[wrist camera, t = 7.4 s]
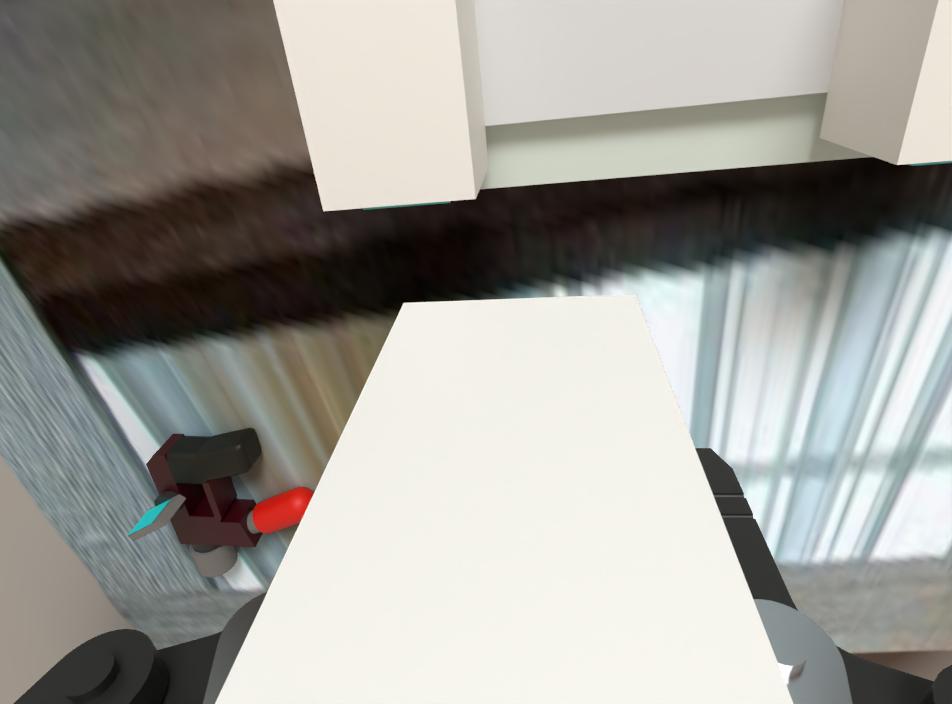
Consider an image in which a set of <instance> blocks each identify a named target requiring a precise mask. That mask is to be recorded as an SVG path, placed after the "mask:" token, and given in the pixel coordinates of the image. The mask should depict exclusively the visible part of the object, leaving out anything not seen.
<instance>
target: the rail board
mask: <svg viewBox="0 0 952 704" xmlns="http://www.w3.org/2000/svg"><path fill="white" fill-rule="evenodd" d="M273 1H274V5H275V10H276V14H277V18H278V22H279V26H280V31H281V35H282V39H283V43H284V48H285V52H286V56H287V60H288V64H289V69H290V73H291V77H292V81H293V86H294V90H295V94H296V98H297V102H298V107H299V111H300V115H301V119H302V123H303V128H304V132H305V136H306V140H307V145H308V149H309V153H310V157H311V161H312V166H313V170H314V174H315V178H316V182H317V187H318V191H319V195H320V199H321V204H322V208H323V211H333V210H346V209H358V208H363V210H368V209H381V208H393V207H406V206H418V205H431V204H443V203H450V202H451V201H457V200H470V199H476V197H477V195H478V192H479V190H480V189H490V188H502V187H514V186H526V185H538V184H550V183H563V182H575V181H587V180H599V179H611V178H623V177H635V176H647V175H659V174H671V173H683V172H695V171H707V170H719V169H731V168H744V167H756V166H768V165H780V164H792V163H804V162H816V161H828V160H840V159H852V158H864V157H875V158H878V159H881V160H884V161H887V162H890V163H892V164H895V165H905V164H908V165H911V166H918V165H931V164H943V163H952V0H273Z"/></svg>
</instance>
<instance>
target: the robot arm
mask: <svg viewBox="0 0 952 704" xmlns="http://www.w3.org/2000/svg"><path fill="white" fill-rule="evenodd" d="M695 449H696V452H697V454H698V457H699V460H700V462H701V465H702V467H703V470H704V473H705V475H706V478H707V480H708V483H709V486H710V488H711V491H712V493H713V496H714V499H715V501H716V504H717V506H718V509H719V512H720V514H721V517H722V519H723V522H724V524H725V527H726V530H727V532H728V535H729V537H730V540H731V543H732V545H733V548H734V550H735V553H736V556H737V558H738V561H739V563H740V566H741V569H742V571H743V574H744V576H745V579H746V582H747V584H748V587H749V589H750V592H751V595H752V597H753V600H754V602H755V605H756V608H757V610H758V613H759V615H760V618H761V621H762V623H763V626H764V628H765V631H766V634H767V636H768V639H769V641H770V644H771V647H772V649H773V652H774V654H775V657H776V659H777V662H778V665H779V667H780V670H781V672H782V675H783V678H784V680H785V683H786V685H787V688H788V691H789V693H790V696H791V698H792V701H793V704H952V665H951V666H949V667H947V668H945V669H943V670H942V671H941V672H940V673H939V674H938V676H937V678H936V679H935V681H930V680H927V679H924V678H921V677H918V676H914V675H911V674H908V673H905V672H901V671H898V670H895V669H892V668H889V667H886V666H883V665H879V664H876V663H873V662H870V661H867V660H864V659H862V658H859V657H857V656H855V655H852V654H850V653H848V652H846V651H844V650H843V649H841V648H839V647H838V646H836V645H835V644H834V642H833V641H832V639H831V638H830V637H829V636H828V634H827V633H826V632H825V631H824V630H823V629H822V628H821V627H820V626H819V625H817V624H816V623H815V622H814V621H813V620H811V619H810V618H809V617H807V616H806V615H804V614H803V613H801V612H799V611H798V610H797V608H796V606H795V605H794V603H793V601H792V599H791V597H790V595H789V592H788V590H787V588H786V586H785V584H784V581H783V579H782V577H781V575H780V573H779V570H778V568H777V566H776V564H775V562H774V559H773V557H772V555H771V553H770V550H769V548H768V546H767V544H766V542H765V539H764V537H763V535H762V533H761V531H760V528H759V526H758V524H757V522H756V520H755V519H753V513H752V511H751V509H750V506H749V504H748V502H747V500H746V498H744V495H743V494H744V493H743V491H742V489H741V487H740V484H739V482H738V480H737V478H736V475H735V473H734V471H733V469H732V468H731V467H730V466H729V465H728V464H727V463H726V462H725V461H724V460H722V459H721V458H720V457H719V456H718V455H717V454H716V453H715V452H714V451H713V450H712V449H711V448H695ZM266 594H267V592H266V593H263V594H261V595H259V596H257V597H256V598H254V599H252V600H251V601H249V602H248V603H246V604H245V605H244V606H243V607H242V608H240V609H239V610H238V611H237V612H236V613H235V614H234V615H233V617H232V618H231V619H230V620H229V622H228V623H227V625H226V626H225V628H224V630H223V631H222V632H220V633H217V634H214V635H211V636H208V637H204V638H200V639H197V640H193V641H190V642H186V643H182V644H179V645H175V646H172V647H168V648H164V649H161V650H156V648H155V646H154V645H153V643H152V641H151V640H150V639H149V637H148V636H147V635H145V634H144V633H142V632H140V631H137V630H130V629H122V630H115V631H110V632H107V633H104V634H101V635H99V636H97V637H94V638H92V639H90V640H88V641H87V642H85V643H83V644H81V645H80V646H78V647H77V648H75V649H74V650H73V651H71V652H70V653H68V654H67V655H66V656H65V657H64V658H63V659H61V660H60V661H59V662H58V663H57V664H56V665H55V666H54V667H53V668H51V669H50V670H49V671H48V672H47V673H46V674H45V675H44V676H43V677H42V678H41V679H40V680H39V681H37V682H36V683H35V684H34V685H33V686H32V687H31V688H30V689H29V690H28V691H27V692H26V693H25V694H24V695H22V696H21V697H20V698H19V699H18V700H17V701H16V702H15V703H14V704H215V702H216V700H217V698H218V696H219V694H220V692H221V690H222V688H223V685H224V683H225V681H226V679H227V677H228V675H229V673H230V671H231V668H232V666H233V664H234V662H235V660H236V658H237V656H238V654H239V652H240V649H241V647H242V645H243V643H244V641H245V639H246V637H247V635H248V632H249V630H250V628H251V626H252V624H253V622H254V620H255V618H256V615H257V613H258V611H259V609H260V607H261V605H262V603H263V601H264V598H265V596H266Z"/></svg>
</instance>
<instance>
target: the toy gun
mask: <svg viewBox="0 0 952 704" xmlns="http://www.w3.org/2000/svg"><path fill="white" fill-rule="evenodd" d="M260 453H261V449H260V445H259V442H258V439H257V435H256V432H255V430H254V429H252V428H247V429H242V430H238V431H233V432H229V433H224V434H220V435H215V436H212V437H199V436H184V434H173V435H172V436H171V437H170V438H169V439H168V440H167V441H166V442H165V443H164V444H163V446H162V447H161V448H160V449H159V450H158V451H157V452H156V453H155V454H154V455H153V457H152V458H151V459H150V460H149V462H148V463H147V464H146V465H147V467H148V469H149V472H150V474H151V476H152V478H153V481H154V483H155V485H156V488H157V490H158V492H159V494H160V495H159V496H158V497H157V498H156V500H155V507H153V508H151V509H150V510H148V511H147V512H146V514H145V515H144V516H143V517H142V518H141V520H140V521H139V522H138V523H137V525H136V526H135V527H134V528H133V529H132V531H131V532H130V533H129V534H128V535H127V536H128V537H130V538H131V539H132V540H133V541H134V540H136V539H138V538H140V537H142V536H144V535H146V534H148V533H151V532H153V531H155V530H157V529H159V528H161V527H163V526H165V525H166V524H167V523H168V522H169V520H171V523H172V525H173V527H174V530H175V532H176V534H177V536H178V539H179V541H180V543H181V544H190V545H189V548H190V551H191V554H192V556H193V558H194V561H195V563H196V565H197V568H198V570H199V572H200V574H201V575H203V576H205V577H216V576H219V575H222V574H224V573H226V572H227V571H228V570H230V569H231V568H232V567H233V566H234V564H235V563H236V561H237V557H238V555H237V552H236V549H235V546H242V547H255V546H256V544H257V543H258V541H259V539H260V537H261V535H262V534H263V533H264V534H270V533H273V532H276V531H279V530H281V529H284V528H287V527H290V526H293V525H295V524H298V523H300V522H301V520H302V518H303V516H304V514H305V511H306V509H307V507H308V505H309V503H310V501H311V499H312V497H313V494H314V492H313V491H312V490H310V489H308V488H306V487H298V488H294V489H292V490H289V491H287V492H284V493H281V494H279V495H276V496H274V497H271V498H269V499H266V500H263V501H261V502H259V503H258V504H257V505H256V503H255V502H254V500H244V499H235V498H236V496H237V494H236V491H235V488H234V486H233V483H232V480H231V477H230V476H233V475H238V474H243V473H246V472H247V471H249V470H250V468H251V467H252V465H253V464H254V462H255V461H256V459H257V458H258V456H259V455H260Z"/></svg>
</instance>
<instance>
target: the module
mask: <svg viewBox="0 0 952 704" xmlns="http://www.w3.org/2000/svg"><path fill="white" fill-rule="evenodd" d="M215 704H793V701H792V698H791V696H790V693H789V691H788V688H787V685H786V683H785V680H784V678H783V675H782V672H781V670H780V667H779V665H778V662H777V659H776V657H775V654H774V652H773V649H772V647H771V644H770V641H769V639H768V636H767V634H766V631H765V628H764V626H763V623H762V621H761V618H760V615H759V613H758V610H757V608H756V605H755V602H754V600H753V597H752V595H751V592H750V589H749V587H748V584H747V582H746V579H745V576H744V574H743V571H742V569H741V566H740V563H739V561H738V558H737V556H736V553H735V550H734V548H733V545H732V543H731V540H730V537H729V535H728V532H727V530H726V527H725V524H724V522H723V519H722V517H721V514H720V512H719V509H718V506H717V504H716V501H715V499H714V496H713V493H712V491H711V488H710V486H709V483H708V480H707V478H706V475H705V473H704V470H703V467H702V465H701V462H700V460H699V457H698V454H697V452H696V449H695V447H694V444H693V441H692V439H691V436H690V434H689V431H688V428H687V426H686V423H685V421H684V418H683V415H682V413H681V410H680V408H679V405H678V402H677V400H676V397H675V395H674V392H673V389H672V387H671V384H670V382H669V379H668V376H667V374H666V371H665V369H664V366H663V364H662V361H661V358H660V356H659V353H658V351H657V348H656V345H655V343H654V340H653V338H652V335H651V332H650V330H649V327H648V325H647V322H646V319H645V317H644V314H643V312H642V309H641V306H640V304H639V301H638V299H637V296H636V294H629V295H603V296H576V297H549V298H522V299H495V300H468V301H441V302H414V303H403V305H402V308H401V310H400V312H399V314H398V316H397V318H396V320H395V322H394V325H393V327H392V329H391V331H390V333H389V335H388V337H387V339H386V342H385V344H384V346H383V348H382V350H381V352H380V354H379V356H378V359H377V361H376V363H375V365H374V367H373V369H372V371H371V373H370V376H369V378H368V380H367V382H366V384H365V386H364V388H363V390H362V393H361V395H360V397H359V399H358V401H357V403H356V405H355V407H354V409H353V412H352V414H351V416H350V418H349V420H348V422H347V424H346V426H345V429H344V431H343V433H342V435H341V437H340V439H339V441H338V443H337V446H336V448H335V450H334V452H333V454H332V456H331V458H330V460H329V463H328V465H327V467H326V469H325V471H324V473H323V475H322V477H321V480H320V482H319V484H318V486H317V488H316V490H315V492H314V494H313V497H312V499H311V501H310V503H309V505H308V507H307V509H306V511H305V514H304V516H303V518H302V520H301V522H300V524H299V526H298V528H297V531H296V533H295V535H294V537H293V539H292V541H291V543H290V545H289V547H288V550H287V552H286V554H285V556H284V558H283V560H282V562H281V564H280V567H279V569H278V571H277V573H276V575H275V577H274V579H273V581H272V584H271V586H270V588H269V590H268V592H267V594H266V596H265V598H264V601H263V603H262V605H261V607H260V609H259V611H258V613H257V615H256V618H255V620H254V622H253V624H252V626H251V628H250V630H249V632H248V635H247V637H246V639H245V641H244V643H243V645H242V647H241V649H240V652H239V654H238V656H237V658H236V660H235V662H234V664H233V666H232V668H231V671H230V673H229V675H228V677H227V679H226V681H225V683H224V685H223V688H222V690H221V692H220V694H219V696H218V698H217V700H216V702H215Z"/></svg>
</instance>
